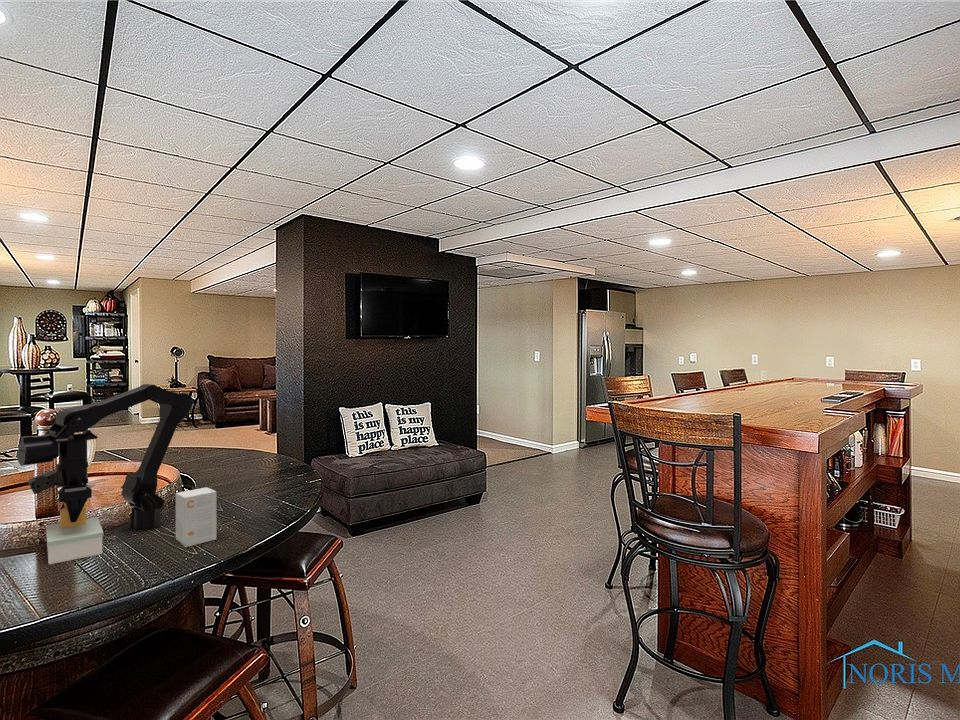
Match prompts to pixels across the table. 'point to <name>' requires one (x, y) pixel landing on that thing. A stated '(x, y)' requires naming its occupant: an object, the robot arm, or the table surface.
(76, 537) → the lid
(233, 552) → the table surface
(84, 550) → the tub
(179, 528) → the small box
